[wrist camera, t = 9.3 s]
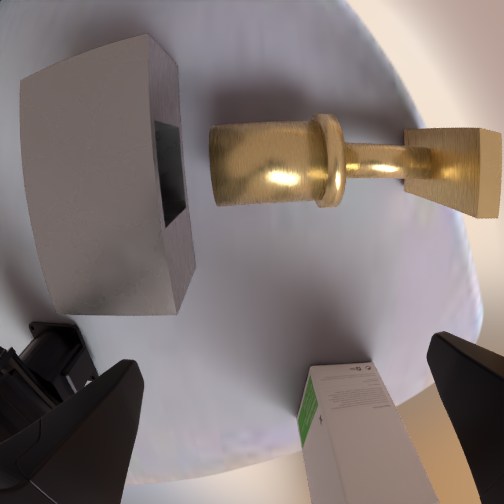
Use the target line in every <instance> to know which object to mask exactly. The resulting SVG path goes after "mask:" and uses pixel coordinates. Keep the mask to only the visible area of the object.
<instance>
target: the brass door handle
mask: <svg viewBox="0 0 504 504" xmlns="http://www.w3.org/2000/svg"><path fill="white" fill-rule="evenodd" d="M501 141H502V139H501V133H498V132H494V131H490V130H486V129H482V128H427V129H407V130H404V146H402V145H388V144H370V143H344V137H343V133H342V130H341V127H340V124H339V122H338V120H337V118H336V117H335V116H334V115H333V114H314V115H313V117H312V119H311V121H273V122H253V123H238V124H225V125H215V126H211V128H210V136H209V156H210V171H211V180H212V187H213V193H214V198H215V202H216V205H217V206H231V205H245V204H260V203H277V202H296V201H315V202H316V204H317V206H318V207H320V208H328V207H337V206H338V205H339V204H340V202H341V200H342V197H343V194H344V190H345V183H346V178H397V179H405V180H404V191H405V192H408V193H411V194H414V195H417V196H420V197H422V198H425V199H428V200H431V201H434V202H436V203H439V204H442V205H444V206H447V207H450V208H452V209H455V210H457V211H460V212H462V213H465V214H468V215H470V216H472V217H475V218H498V214H499V205H500V193H501V172H502V142H501Z"/></svg>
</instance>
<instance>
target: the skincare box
mask: <svg viewBox="0 0 504 504" xmlns="http://www.w3.org/2000/svg"><path fill="white" fill-rule="evenodd" d="M297 424H298V430H299V435H300V441H301V446H302V451H303V457H304V462H305V468H306V474H307V480H308V486H309V491H310V497H311V503H312V504H440V502H439V499H438V498H437V496H436V494H435V492H434V489H433V487H432V485H431V483H430V480H429V478H428V476H427V473H426V471H425V469H424V467H423V464H422V462H421V460H420V457H419V455H418V453H417V451H416V449H415V446H414V444H413V442H412V440H411V438H410V436H409V434H408V432H407V430H406V428H405V425H404V423H403V421H402V419H401V417H400V415H399V413H398V411H397V409H396V407H395V405H394V403H393V401H392V399H391V397H390V395H389V393H388V391H387V389H386V387H385V385H384V383H383V381H382V379H381V377H380V375H379V373H378V371H377V369H376V367H375V365H374V363H373V362H368V363H352V364H336V365H317V366H311V367H310V369H309V373H308V378H307V381H306V384H305V389H304V393H303V397H302V401H301V405H300V409H299V412H298V415H297Z"/></svg>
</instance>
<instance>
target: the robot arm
mask: <svg viewBox="0 0 504 504" xmlns="http://www.w3.org/2000/svg"><path fill="white" fill-rule="evenodd" d="M29 328H30V331H31V333H32V335H33V337H34V339H33V340H32V341H31V342H30V344H29V345H28V346H27V347H26V348H25V349H24V350H23V352H22V353H21V354H20V355H19V356H18V355H17V354H16V353H15V352H16V351H15V350H14V349H13V347H11V348H9V349H8V350H6V349H4V348H2V347H0V504H120V503H121V498H122V494H123V489H124V484H125V480H126V476H127V471H128V467H129V463H130V459H131V455H132V451H133V447H134V443H135V439H136V435H137V431H138V425H139V419H140V412H141V405H142V398H143V392H144V380H143V377H142V374H141V372H140V369H139V366H138V364H137V362H136V361H135V360H128V359H123V360H121V361H120V362H118V363H117V364H115V365H114V366H113V367H111V368H110V369H108V370H107V371H106V372H104V373H103V374H102V375H100V376H98V374H97V371H96V369H95V367H94V365H93V362H92V360H91V358H90V355H89V353H88V351H87V348H86V346H85V343H84V341H83V338H82V336H81V333H80V330H79V328H78V327H77V326H76V325H71V324H55V323H41V322H31V323H30V324H29ZM427 362H428V365H429V367H430V370H431V373H432V375H433V378H434V381H435V384H436V387H437V389H438V392H439V395H440V398H441V400H442V402H443V405H444V407H445V409H446V411H447V413H448V415H449V418H450V420H451V422H452V425H453V427H454V429H455V432H456V434H457V436H458V439H459V441H460V444H461V446H462V449H463V451H464V454H465V456H466V459H467V462H468V464H469V467H470V470H471V473H472V475H473V478H474V481H475V484H476V487H477V490H478V493H479V496H480V500H481V503H482V504H504V357H503V356H501V355H499V354H496V353H494V352H492V351H489V350H487V349H485V348H483V347H480V346H478V345H476V344H473V343H471V342H469V341H466V340H464V339H462V338H459V337H457V336H455V335H453V334H450V333H448V332H445V331H442V332H438V333H435V334H434V335H433V336H432V338H431V342H430V345H429V349H428V352H427ZM87 380H88V381H92V382H90V383H89V384H88V385H86V386H85V384H86V382H87ZM84 386H85V387H84Z"/></svg>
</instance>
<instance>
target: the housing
mask: <svg viewBox="0 0 504 504" xmlns="http://www.w3.org/2000/svg"><path fill="white" fill-rule="evenodd" d="M20 139H21V155H22V166H23V175H24V183H25V191H26V197H27V204H28V209H29V215H30V220H31V225H32V230H33V235H34V239H35V244H36V248H37V252H38V256H39V260H40V263H41V267H42V271H43V274H44V277H45V281H46V284H47V287H48V290H49V294H50V297H51V300H52V303H53V305H54V308H55V311H56V314H70V315H115V316H148V315H177V314H178V311H179V309H180V306H181V304H182V301H183V299H184V296H185V294H186V291H187V289H188V286H189V284H190V281H191V279H192V276H193V274H194V271H195V269H196V264H195V256H194V249H193V241H192V233H191V225H190V217H189V208H188V199H187V189H186V179H185V169H184V158H183V146H182V133H181V119H180V102H179V83H178V66H177V65H176V64H175V63H174V61H173V60H172V59H171V58H170V57H169V56H168V55H167V54H166V52H165V51H164V50H163V49H162V48H161V47H160V46H159V45H158V44H157V43H156V41H155V40H154V39H153V38H152V37H151V36H150V35H149V34H148V33H147V34H143V35H139V36H135V37H131V38H128V39H124V40H120V41H117V42H114V43H110V44H107V45H104V46H101V47H98V48H95V49H92V50H89V51H86V52H84V53H81V54H78V55H76V56H73V57H71V58H68V59H66V60H63V61H61V62H58V63H56V64H54V65H52V66H49V67H47V68H45V69H43V70H41V71H39V72H36V73H34V74H32V75H30V76H28V77H26V78H24V79H23V80H21V84H20Z"/></svg>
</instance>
